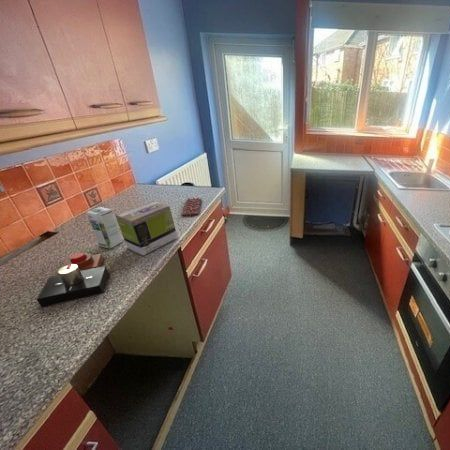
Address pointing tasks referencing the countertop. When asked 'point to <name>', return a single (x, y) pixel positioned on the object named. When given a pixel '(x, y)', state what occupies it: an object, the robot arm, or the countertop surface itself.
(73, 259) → the button
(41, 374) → the countertop surface
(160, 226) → the tea box
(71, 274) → the hob knob
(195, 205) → the chocolate bar
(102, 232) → the syrup box
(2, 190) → the robot arm
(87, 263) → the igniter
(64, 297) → the panel
